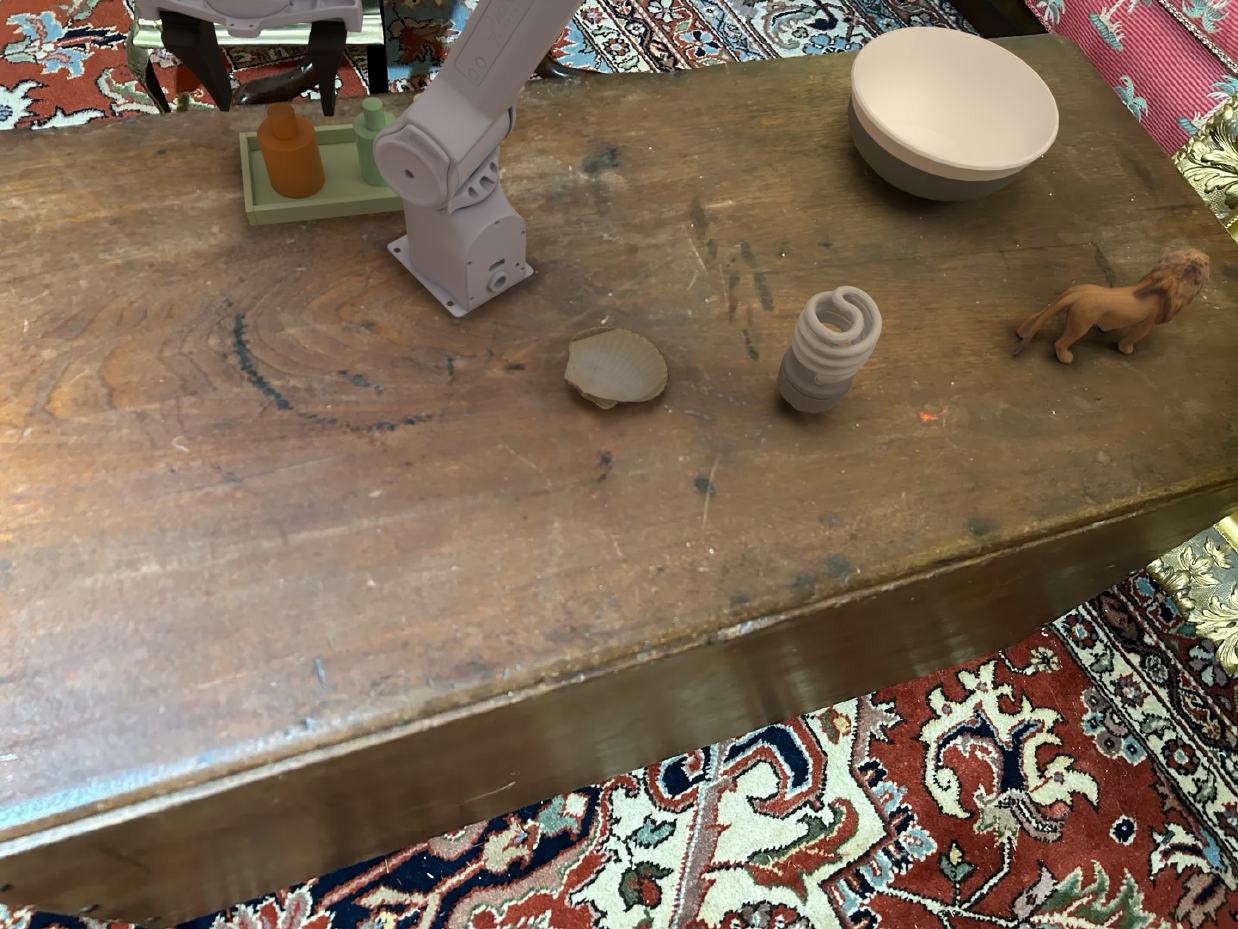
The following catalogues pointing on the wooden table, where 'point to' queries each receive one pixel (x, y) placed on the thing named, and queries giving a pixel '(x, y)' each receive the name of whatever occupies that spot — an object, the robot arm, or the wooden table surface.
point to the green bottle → (370, 137)
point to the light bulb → (828, 348)
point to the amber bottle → (290, 152)
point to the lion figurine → (1125, 303)
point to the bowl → (947, 113)
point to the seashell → (615, 367)
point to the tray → (334, 199)
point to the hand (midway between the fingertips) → (278, 105)
